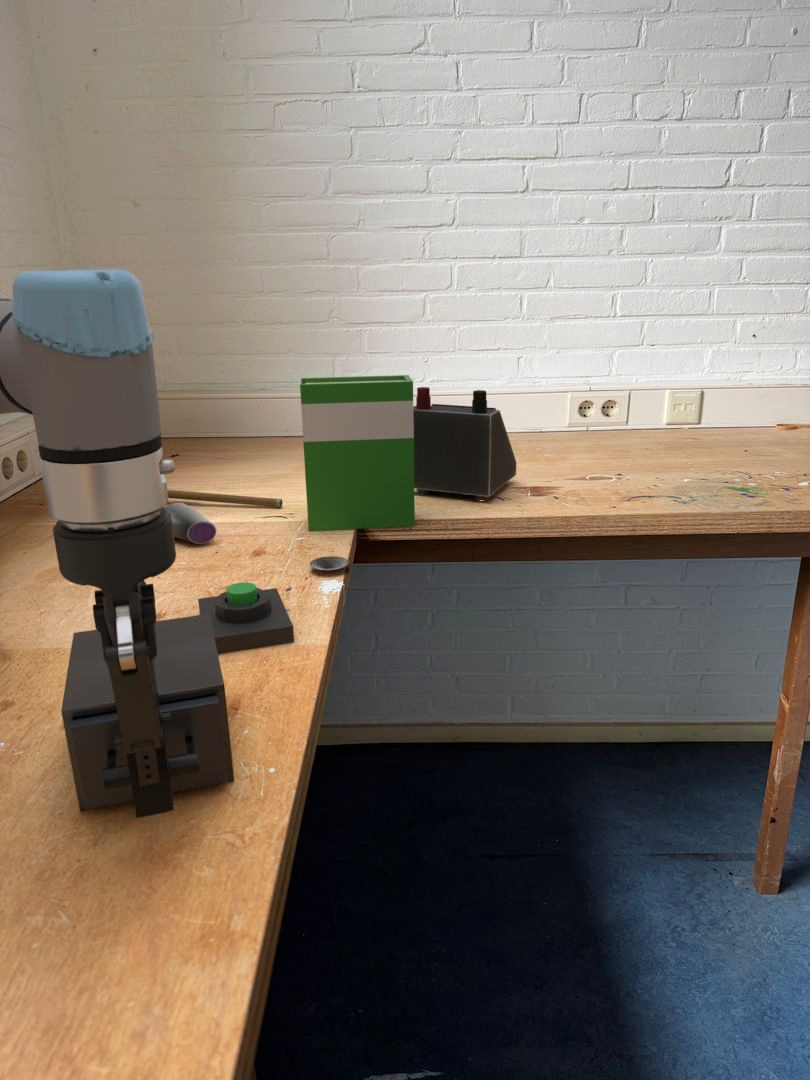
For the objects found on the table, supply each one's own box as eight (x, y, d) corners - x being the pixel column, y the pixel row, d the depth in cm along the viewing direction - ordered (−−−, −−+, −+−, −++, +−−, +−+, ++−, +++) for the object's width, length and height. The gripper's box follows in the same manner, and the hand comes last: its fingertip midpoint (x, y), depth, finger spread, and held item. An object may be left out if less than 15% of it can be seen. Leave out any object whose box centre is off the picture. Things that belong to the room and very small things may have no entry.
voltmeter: (516, 481, 158) (519, 379, 151) (489, 504, 144) (491, 393, 138) (441, 473, 165) (441, 376, 158) (408, 494, 151) (406, 388, 144)
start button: (225, 597, 98) (224, 584, 97) (255, 593, 99) (254, 580, 98) (229, 609, 94) (227, 595, 94) (259, 604, 96) (258, 591, 95)
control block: (199, 614, 102) (196, 585, 100) (277, 603, 105) (275, 575, 103) (207, 656, 91) (204, 624, 90) (294, 642, 94) (292, 611, 92)
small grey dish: (321, 580, 112) (320, 572, 111) (304, 568, 116) (303, 561, 116) (355, 572, 114) (355, 564, 114) (337, 560, 119) (337, 553, 118)
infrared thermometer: (101, 551, 127) (187, 524, 136) (131, 572, 118) (222, 542, 127) (95, 524, 125) (183, 499, 134) (125, 543, 116) (217, 515, 125)
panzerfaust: (277, 492, 141) (285, 488, 146) (93, 478, 146) (106, 473, 151) (276, 518, 143) (285, 513, 147) (94, 503, 148) (108, 498, 152)
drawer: (233, 813, 64) (224, 729, 61) (82, 845, 61) (65, 758, 58) (213, 702, 80) (205, 632, 77) (92, 723, 77) (80, 650, 74)
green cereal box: (308, 531, 132) (299, 384, 124) (309, 517, 139) (301, 378, 131) (414, 526, 133) (413, 381, 125) (410, 512, 140) (408, 374, 132)
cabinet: (234, 780, 69) (224, 683, 66) (79, 812, 66) (60, 710, 62) (218, 697, 82) (209, 613, 79) (88, 720, 79) (73, 632, 76)
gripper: (174, 537, 48) (212, 854, 56) (167, 484, 60) (199, 753, 68) (40, 551, 46) (99, 879, 54) (59, 494, 58) (105, 770, 66)
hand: (154, 808), depth 61 cm, fingers closed
